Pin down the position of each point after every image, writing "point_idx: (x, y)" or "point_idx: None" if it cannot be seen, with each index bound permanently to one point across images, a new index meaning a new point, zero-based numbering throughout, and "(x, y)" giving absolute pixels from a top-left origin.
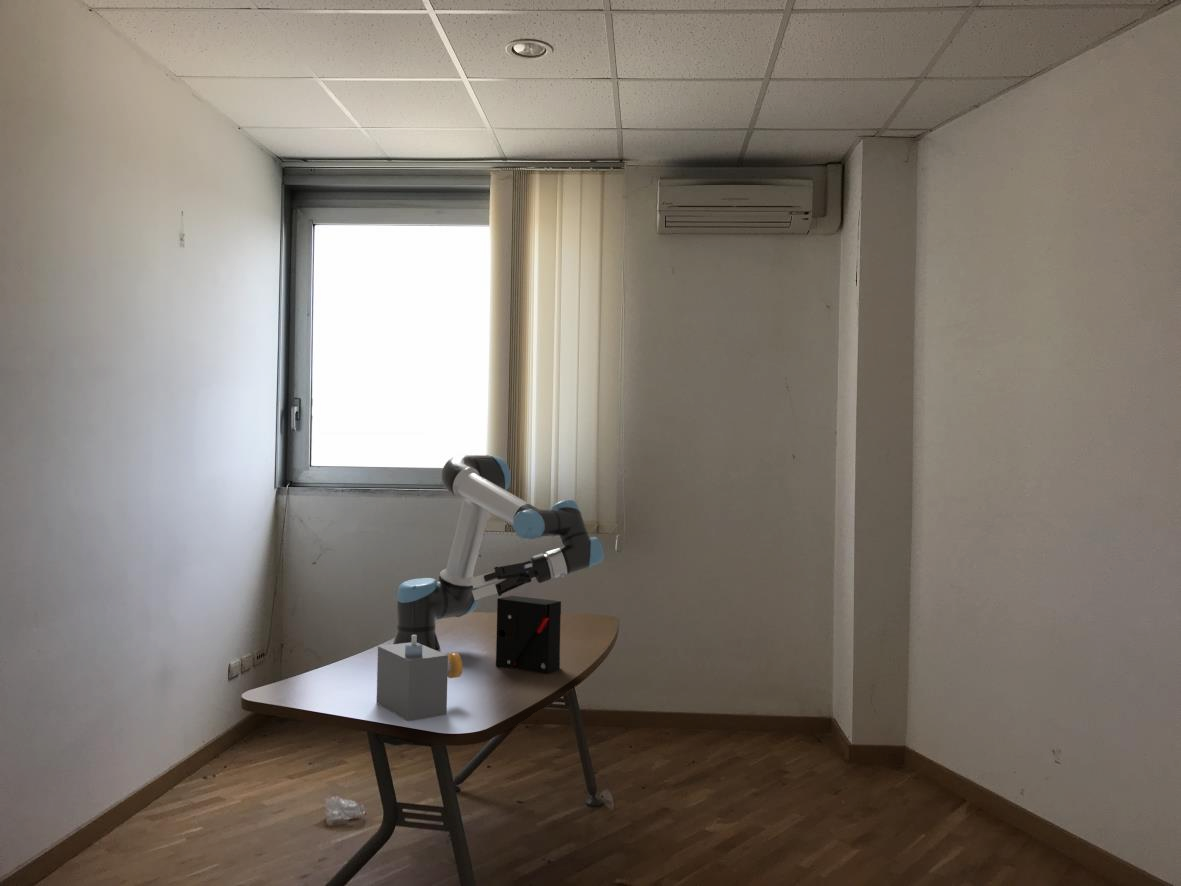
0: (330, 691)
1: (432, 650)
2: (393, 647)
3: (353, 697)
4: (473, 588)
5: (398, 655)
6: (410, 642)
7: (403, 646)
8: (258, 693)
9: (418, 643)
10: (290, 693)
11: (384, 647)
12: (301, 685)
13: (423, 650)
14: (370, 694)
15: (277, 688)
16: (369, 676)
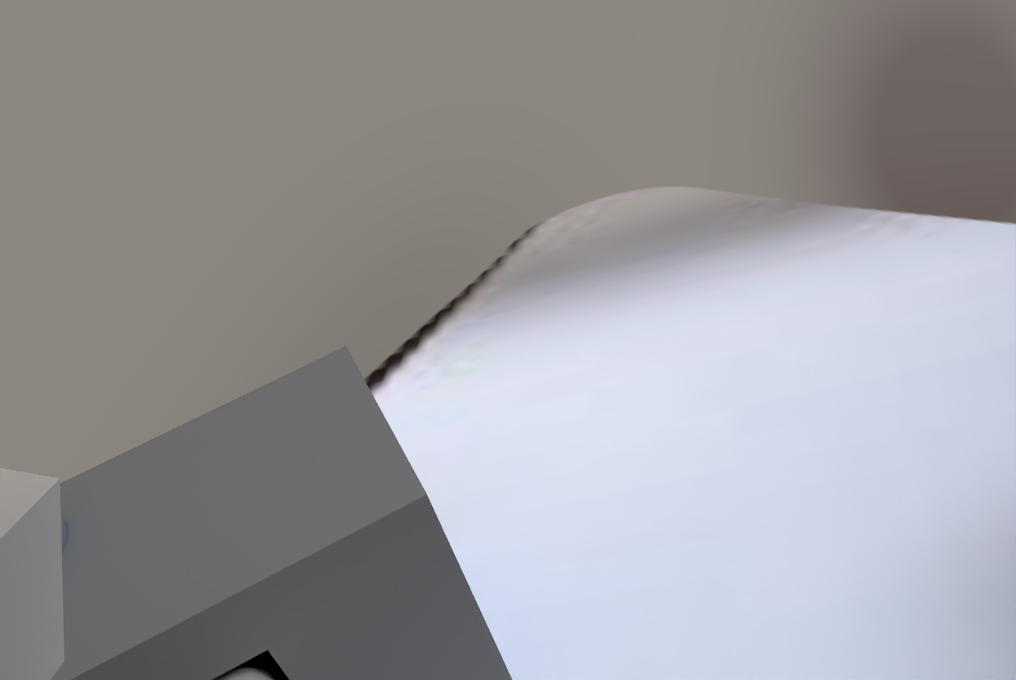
0: (663, 356)
1: (94, 647)
2: (284, 417)
3: (555, 452)
4: (58, 656)
5: (64, 482)
6: (409, 472)
7: (295, 459)
8: (638, 199)
9: (362, 524)
10: (635, 263)
11: (300, 379)
12: (759, 254)
13: (123, 589)
14: (602, 503)
15: (708, 215)
16: (991, 421)
